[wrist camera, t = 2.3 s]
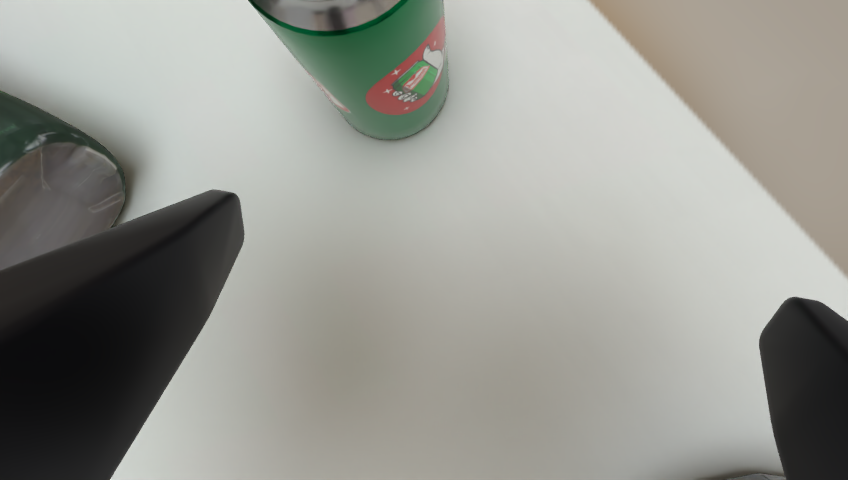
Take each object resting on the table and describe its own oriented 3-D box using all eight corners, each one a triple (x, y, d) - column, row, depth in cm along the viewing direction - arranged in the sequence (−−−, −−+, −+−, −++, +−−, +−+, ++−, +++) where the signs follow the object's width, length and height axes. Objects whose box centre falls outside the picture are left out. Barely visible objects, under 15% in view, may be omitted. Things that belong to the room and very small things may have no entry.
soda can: (328, 41, 23) (188, -191, 11) (440, 21, 23) (417, -240, 11) (344, 151, 23) (217, 33, 11) (456, 133, 23) (452, -10, 11)
